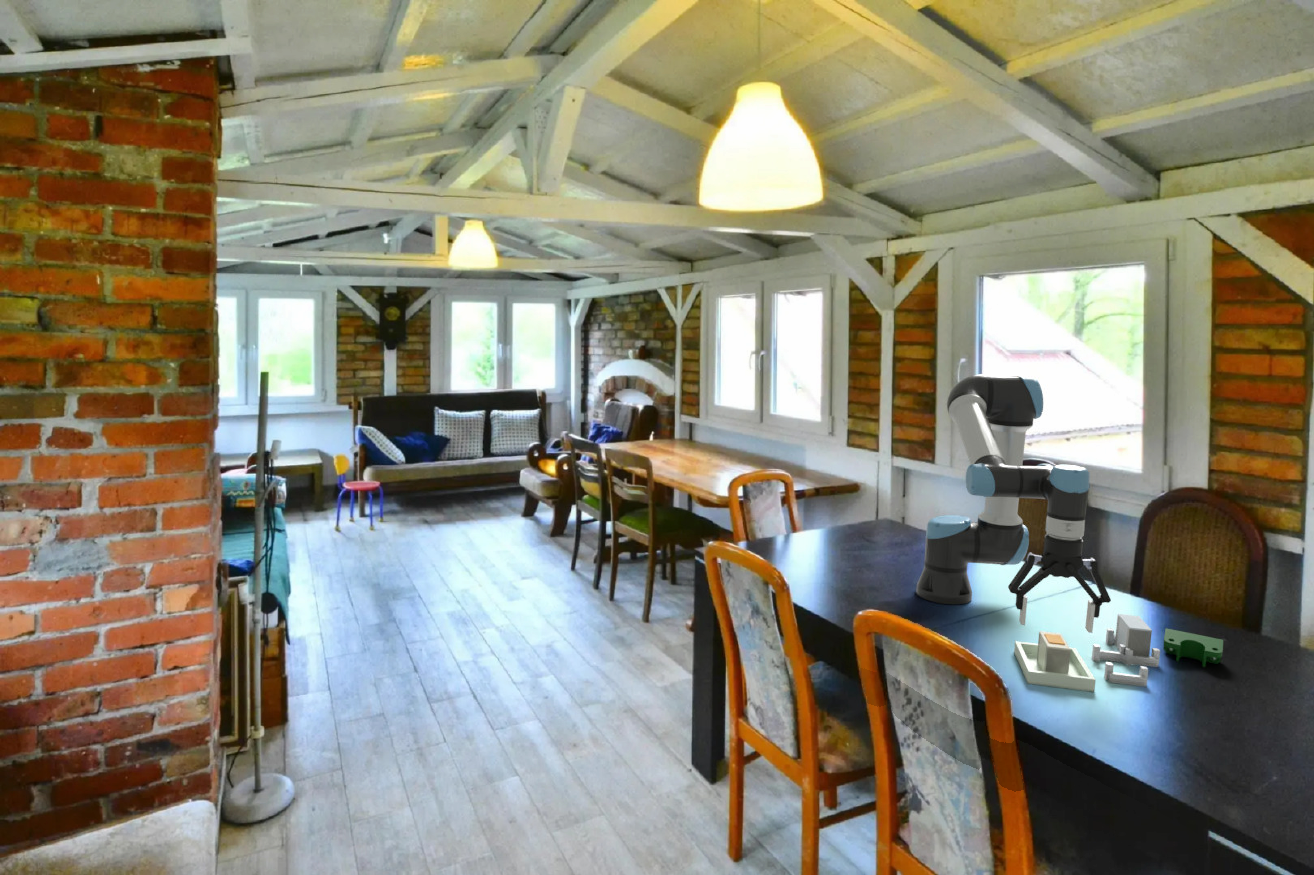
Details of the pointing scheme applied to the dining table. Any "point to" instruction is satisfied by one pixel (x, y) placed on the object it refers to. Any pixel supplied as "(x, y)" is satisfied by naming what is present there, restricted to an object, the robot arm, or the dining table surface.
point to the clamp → (1193, 646)
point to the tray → (1074, 679)
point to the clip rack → (1127, 658)
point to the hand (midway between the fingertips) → (1055, 626)
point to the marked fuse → (1053, 653)
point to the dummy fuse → (1133, 634)
